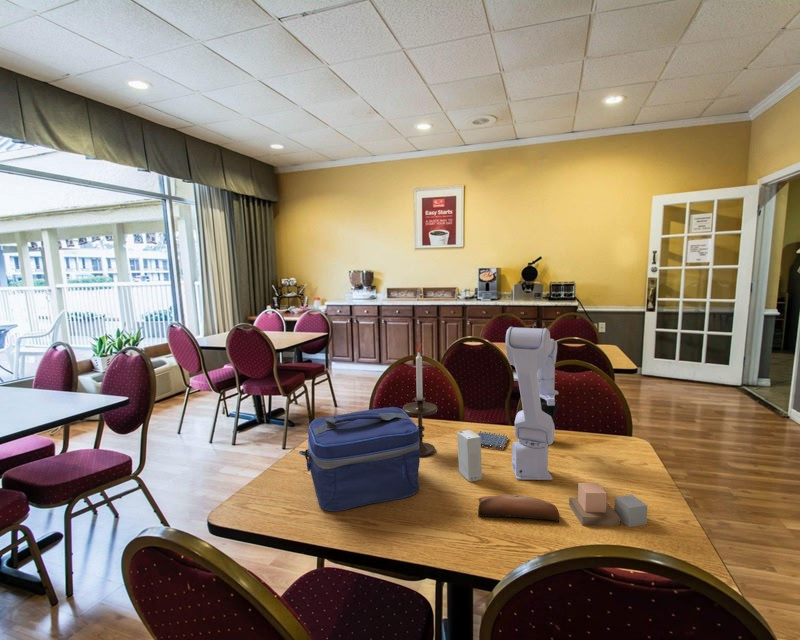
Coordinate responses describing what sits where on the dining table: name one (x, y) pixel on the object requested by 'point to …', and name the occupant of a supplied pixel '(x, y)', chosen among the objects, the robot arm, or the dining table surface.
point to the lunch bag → (363, 458)
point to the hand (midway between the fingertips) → (544, 420)
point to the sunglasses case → (517, 507)
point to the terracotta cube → (592, 497)
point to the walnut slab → (594, 515)
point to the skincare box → (469, 455)
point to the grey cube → (631, 510)
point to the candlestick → (421, 409)
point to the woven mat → (493, 440)
